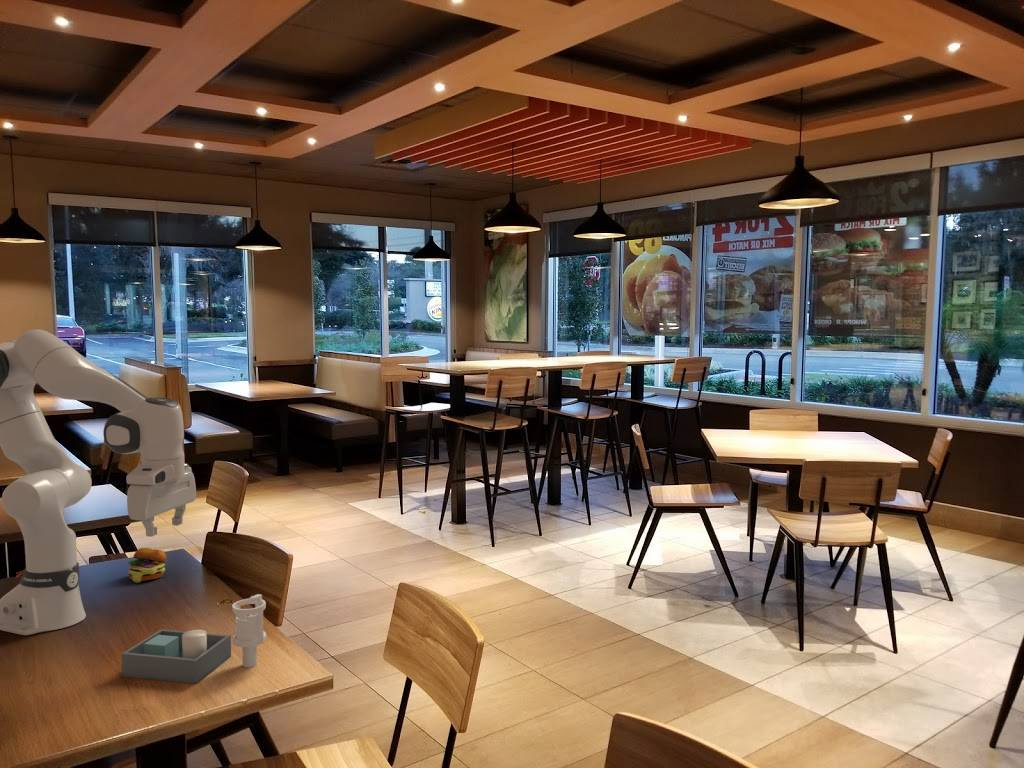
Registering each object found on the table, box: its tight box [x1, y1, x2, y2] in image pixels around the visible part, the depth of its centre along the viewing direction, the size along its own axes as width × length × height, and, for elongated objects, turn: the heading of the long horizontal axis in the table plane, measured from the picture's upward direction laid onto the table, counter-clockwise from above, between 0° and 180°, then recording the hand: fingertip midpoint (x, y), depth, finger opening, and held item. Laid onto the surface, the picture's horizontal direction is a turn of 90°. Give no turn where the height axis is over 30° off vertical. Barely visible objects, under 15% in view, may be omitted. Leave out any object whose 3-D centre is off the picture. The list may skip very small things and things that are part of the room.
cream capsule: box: [182, 629, 208, 659], centre depth 170 cm, size 5×5×7 cm
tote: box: [121, 628, 232, 684], centre depth 170 cm, size 18×14×5 cm
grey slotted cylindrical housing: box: [231, 593, 267, 668], centre depth 171 cm, size 7×7×15 cm
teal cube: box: [144, 635, 179, 657], centre depth 171 cm, size 5×5×5 cm
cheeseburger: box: [127, 547, 169, 584], centre depth 230 cm, size 10×11×10 cm
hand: (164, 530), depth 174 cm, fingers open, 8 cm apart
